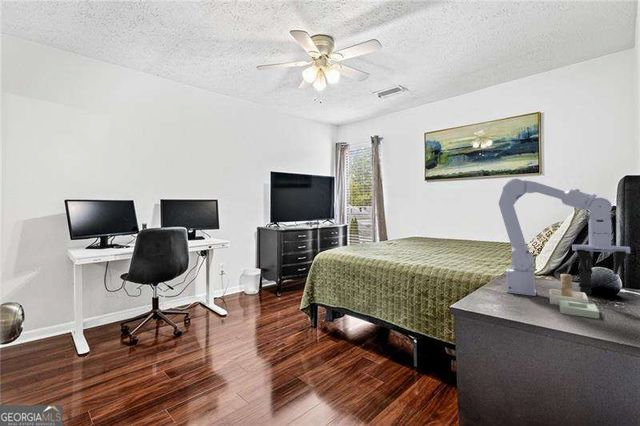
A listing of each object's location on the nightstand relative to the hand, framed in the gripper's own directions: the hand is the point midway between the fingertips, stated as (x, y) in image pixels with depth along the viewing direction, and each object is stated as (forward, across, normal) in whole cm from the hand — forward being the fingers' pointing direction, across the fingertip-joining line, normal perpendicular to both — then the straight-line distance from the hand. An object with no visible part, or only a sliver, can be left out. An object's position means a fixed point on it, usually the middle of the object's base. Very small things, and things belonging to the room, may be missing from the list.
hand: (600, 272), depth 105 cm
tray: (+10, -9, -5) cm, 15 cm away
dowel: (+10, -9, -5) cm, 14 cm away
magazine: (+11, -2, +18) cm, 21 cm away
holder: (+10, -7, -15) cm, 20 cm away
